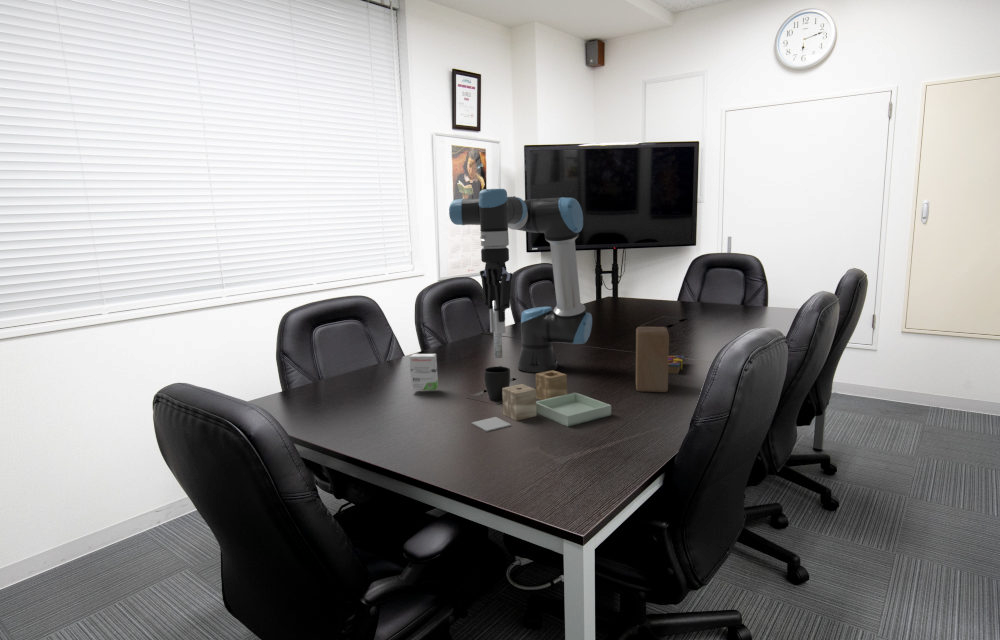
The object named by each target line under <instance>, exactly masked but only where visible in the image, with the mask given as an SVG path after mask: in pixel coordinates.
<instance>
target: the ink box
mask: <svg viewBox="0 0 1000 640" xmlns="http://www.w3.org/2000/svg"><path fill="white" fill-rule="evenodd" d="M409 367H410V369H409V370H410V384H411V385H410V386H411V390H412V391H436V390H437V389H438V387H439V377H438V362H437V353H412V354H411V355H410V356H409Z"/></svg>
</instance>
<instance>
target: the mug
mask: <svg viewBox="0 0 1000 640" xmlns="http://www.w3.org/2000/svg"><path fill="white" fill-rule="evenodd" d="M483 371H484V372H483V374H484V376H483V377H484V385H485V388H486V393H487V395H488V399H489V400H490V401H493V402H500V401H502V402H503V393H502V388H505V387H510V384H511V369H510V368H509V367H507V366H502V365H498V366H490V367H487V368H485V369H483Z"/></svg>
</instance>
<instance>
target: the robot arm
mask: <svg viewBox="0 0 1000 640" xmlns="http://www.w3.org/2000/svg"><path fill="white" fill-rule="evenodd" d="M583 213H584V212H583V210H582V206H581V204H580V203H579V201H578V200H577V199H576V198H573V197H563V196H562V197H561V196H560V197H548V198H531V199H525V200H524V199H522V198H521V197H518V196H508V192H507V190H506V189H504V188H485V189H482V190H480V191H479V195H478V198H458V199H453V200H452V201H451V202H450V204H449V207H448V215H449V216H448V217H449V219H450V221H451V223H452V224H454V225H459V226H480V237H479V238H480V246H481V247H482V248H481V249H480V255H481V256H480V257H481V262H482V263H485V266H484V270H479V274H480V275H479V276H480V278H481V285H482V294H483V303H484V306H487V308H488V309H489V310H488V311H489V312H488V313H489V331H490V333H491V334H492V333H494V329H493V300H496V309H494V310H495V332H496V334H501V333H502V334H505V333H506V310H507V309H509V308H510V307H511V292H512V291H511V290H512V279H513V272H510V273H509V272H508V271H507V265H506V263H507V262H509V260H510V249H509V248H508V247H507V246H509V245H510V241H509V240H510V239H509V229H511V230H514V231H515V230H516V231H521V232H527V233H528V232H529V233H534V234H535V233H539V234H540V233H541V234H544V239H545V241H546V242H548V243H549V247H550V254H551V255H550V256H551V264H552V273H553V282H554V289H555V291H554V292H555V298H556V306H555V307H554V309H553V307H552V306H539V307H532V308H528V309H525V310H523V311H522V312H521V314H520V317H521V319H520V324H521V325H520V330H521V331H520V332H521V351H520V353H519V358H518V361H517V369H518V370H519V369H520V370H519V371H521V370H523V371H522V372H525V371H526V373H542V372H547V371H552V370H554V371H556V369H558V360H557V357H556V354H555V352H554V348H553V343H559V344H569V345H584V344H586V343H587V341H588V339H589V338H590V335H591V332H592V327H593V316H592V314H591V312H588V311H586V306H585V305H584V304H583V303H582V302H581V291H580V283H579V273H578V270H579V269H578V262H577V261H578V259H577V251H576V249H577V248H576V239H577V238H578V237H579V234H580V232H581V231H582V229H583V227H584V214H583Z"/></svg>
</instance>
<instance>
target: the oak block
mask: <svg viewBox="0 0 1000 640" xmlns="http://www.w3.org/2000/svg"><path fill="white" fill-rule="evenodd" d="M535 389H536V400H538V401H540V400H545V399H549V398H553V397H558V396H562V395H566V394H568V374H566V373H562V372H560V371H556V370H552V371H547V372H536V373H535Z"/></svg>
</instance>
